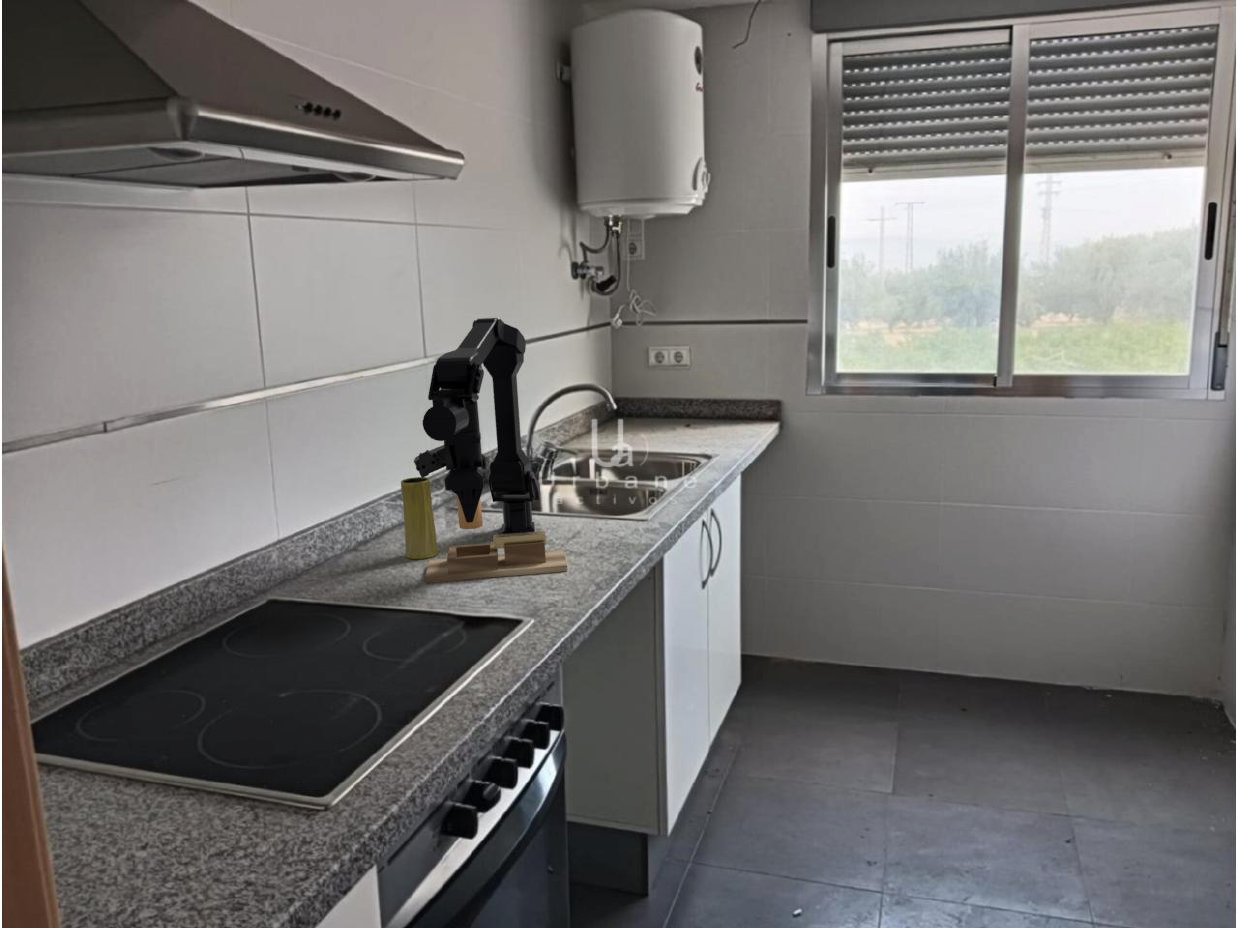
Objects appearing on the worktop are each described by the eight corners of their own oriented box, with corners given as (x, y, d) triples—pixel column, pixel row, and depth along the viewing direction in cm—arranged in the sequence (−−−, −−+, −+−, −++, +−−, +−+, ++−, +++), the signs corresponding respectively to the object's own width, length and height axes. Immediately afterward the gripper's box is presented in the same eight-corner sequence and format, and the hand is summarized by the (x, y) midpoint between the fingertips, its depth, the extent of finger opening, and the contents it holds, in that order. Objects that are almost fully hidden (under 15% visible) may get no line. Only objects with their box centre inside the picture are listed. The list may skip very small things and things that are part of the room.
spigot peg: (459, 524, 173) (456, 485, 172) (482, 522, 174) (479, 483, 172) (458, 529, 169) (455, 490, 168) (482, 528, 170) (479, 488, 168)
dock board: (430, 565, 177) (427, 541, 176) (564, 554, 180) (562, 530, 179) (425, 582, 167) (423, 557, 167) (567, 570, 170) (565, 545, 169)
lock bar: (494, 545, 174) (493, 534, 173) (545, 541, 175) (544, 530, 174) (494, 548, 172) (493, 537, 171) (546, 544, 173) (545, 533, 172)
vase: (399, 555, 185) (392, 480, 182) (428, 548, 189) (421, 475, 186) (415, 561, 180) (408, 485, 177) (445, 554, 184) (438, 479, 181)
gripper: (419, 425, 177) (427, 509, 180) (409, 443, 158) (418, 537, 161) (482, 420, 178) (489, 505, 181) (479, 438, 159) (487, 531, 163)
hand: (470, 519), depth 171 cm, fingers closed on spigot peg, 4 cm apart
